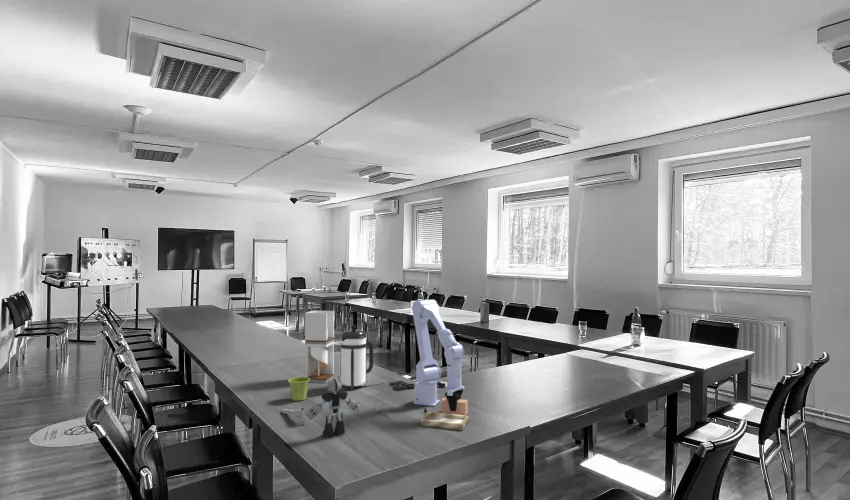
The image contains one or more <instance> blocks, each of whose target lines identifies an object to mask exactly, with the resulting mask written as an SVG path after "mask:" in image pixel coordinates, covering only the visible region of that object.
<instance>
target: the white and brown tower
mask: <svg viewBox="0 0 850 500" xmlns="http://www.w3.org/2000/svg"><path fill="white" fill-rule="evenodd" d="M304 347H305V377H307V378H310V380H309V383H321V384H322V383H323V384H328V378H329V382H330V381H332V380H333V379H335V378H334V377H335V373H334V372H335V367H334V366H335V362H334V361H335V355H334V354H335V311H334V310H310V311H307V312H305V313H304Z"/></svg>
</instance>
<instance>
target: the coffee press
mask: <svg viewBox="0 0 850 500" xmlns="http://www.w3.org/2000/svg"><path fill="white" fill-rule="evenodd" d="M356 328H357V326H356V325H355V324H352V325H351V329H346V330H344V331H343V332H341V335H339V336H340V370H339V371H340V372H339V373H340V375H339V379H340V383H341V384H342V386H345V387H350V391H354V390H355V387H358V386H362V385H363V386H365V387H368V388H369V385H370V384H369V382H368V380H367V374H369V373H370V372H371V371H373V367H374V345H373V343H372V342H371V341H368V340H367V337H368V336H367V333H366V332H365V331H364V330H362V329H356ZM367 347H368V348H369V350H368V352H369V354H368V355H369V365H368V368H367ZM365 383H366V384H365Z"/></svg>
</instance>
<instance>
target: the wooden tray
mask: <svg viewBox="0 0 850 500" xmlns="http://www.w3.org/2000/svg"><path fill="white" fill-rule="evenodd" d="M469 422H470V415H466V416H465V415H456V414H446V413H441V412H436V411H428V412H427V413H426V414H425V415H424V416H423V417H422V418H421V419H420V426H423V427H424V426H425V427H433V428H440V429H449V430H456V431H457V430H460V431H464V430H465V428H466V426H467V425H468V424H469Z"/></svg>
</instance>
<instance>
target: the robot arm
mask: <svg viewBox="0 0 850 500" xmlns="http://www.w3.org/2000/svg"><path fill="white" fill-rule="evenodd" d="M439 310H440V306H439V305H438V302H437V300H435V299H434V298H433V299H423V300H422V299H420V300H414V302H413V304H412V306H411V311H412V317H413V322H414V326H415V333H416V340H417V347H418V352H419V361H418V363H417V364H416V365H415V369H416V370H415V377H416V379H417V381H415V382H414V384H415V386H414V388H413V405H421V406H430V407H435V406H436V405H438V403H439V402H441V400H440V399H438V391H437V390H438V388H437V387H438V386H437V382H439V380H440V379H441V376H442V371H441V369H440V368H441V367H440V366H439V363H438V361H437V360H436V359H434V358H433V351H432V345H431V339H430V333H429V328H428V321H429V320H430V322H431V323H432V325H433V326H434V328H435V329H436V330H437V332H438V333H437V338H438V340H439V341H440V344H441V345H442V348H443V349H444V352H443V354H444V357H445V363H446V364H447V366H446V369H447V371H446V372H447V373H446V375H447V378H446V380H447V386H446V392H445V393H444V395H445V398H447V400H448V403H449V408H450V411H456V407H457V400H458V399H461V398H462V394H463V392H464V389H465V386H464V385H462V359H463V358H464V357H465V353H466V352H465V348H464V346H463V344H461V343H459V342H458V341H457V340H456V338H455V336H454V335H453V333H452V331H451V329H448V328H446V326H445V323H444V321H443V319H442V317H441V315H440V312H439Z"/></svg>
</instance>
